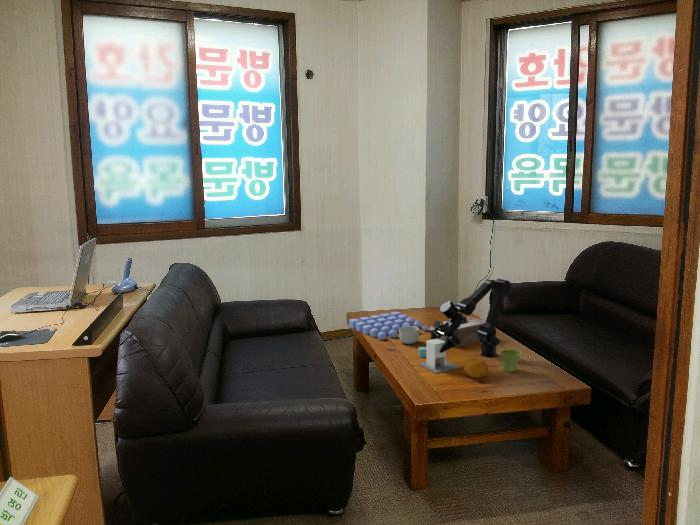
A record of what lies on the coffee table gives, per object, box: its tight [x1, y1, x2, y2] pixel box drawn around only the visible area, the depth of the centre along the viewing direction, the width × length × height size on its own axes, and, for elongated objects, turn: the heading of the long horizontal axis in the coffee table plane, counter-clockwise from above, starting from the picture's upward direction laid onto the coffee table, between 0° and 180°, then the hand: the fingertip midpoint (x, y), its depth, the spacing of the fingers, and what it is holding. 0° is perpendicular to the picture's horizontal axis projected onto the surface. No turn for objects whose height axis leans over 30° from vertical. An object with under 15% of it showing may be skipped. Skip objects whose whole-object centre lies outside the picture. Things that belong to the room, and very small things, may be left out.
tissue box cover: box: [435, 316, 486, 348], centre depth 320 cm, size 26×14×10 cm, turn 122°
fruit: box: [463, 358, 489, 379], centre depth 267 cm, size 10×10×8 cm
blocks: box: [348, 311, 430, 341], centre depth 344 cm, size 35×34×5 cm
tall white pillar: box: [425, 339, 447, 369], centre depth 279 cm, size 7×7×12 cm
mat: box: [418, 360, 461, 374], centre depth 280 cm, size 14×14×1 cm
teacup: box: [398, 326, 420, 345], centre depth 318 cm, size 14×11×8 cm
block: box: [418, 346, 426, 358], centre depth 296 cm, size 4×4×4 cm
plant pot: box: [499, 348, 522, 373], centre depth 274 cm, size 9×9×9 cm
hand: (434, 349), depth 278 cm, fingers open, 9 cm apart
